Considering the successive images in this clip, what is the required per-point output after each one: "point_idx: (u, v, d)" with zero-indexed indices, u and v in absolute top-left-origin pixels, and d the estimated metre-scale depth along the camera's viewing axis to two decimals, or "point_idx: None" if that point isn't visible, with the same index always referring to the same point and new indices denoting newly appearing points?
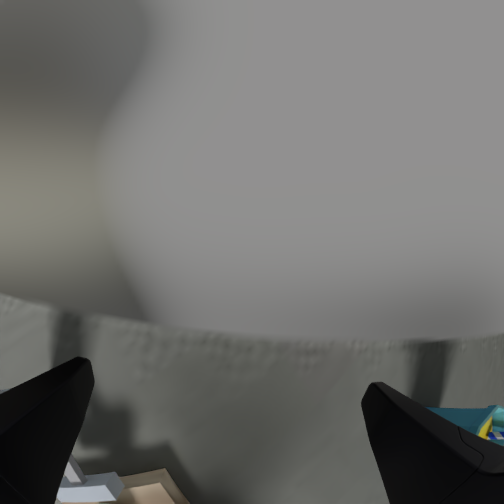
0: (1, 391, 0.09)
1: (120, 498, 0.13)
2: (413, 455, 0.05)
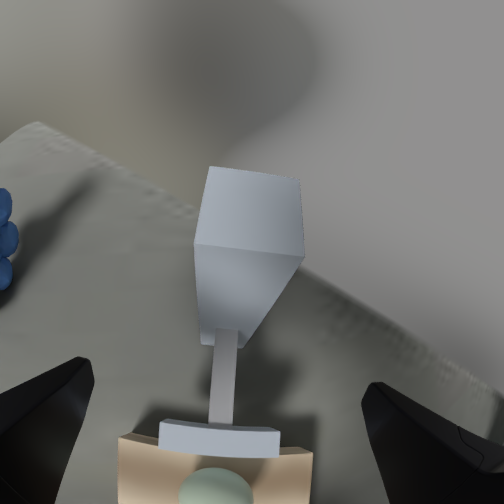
0: None
1: (240, 468, 0.13)
2: (413, 455, 0.05)
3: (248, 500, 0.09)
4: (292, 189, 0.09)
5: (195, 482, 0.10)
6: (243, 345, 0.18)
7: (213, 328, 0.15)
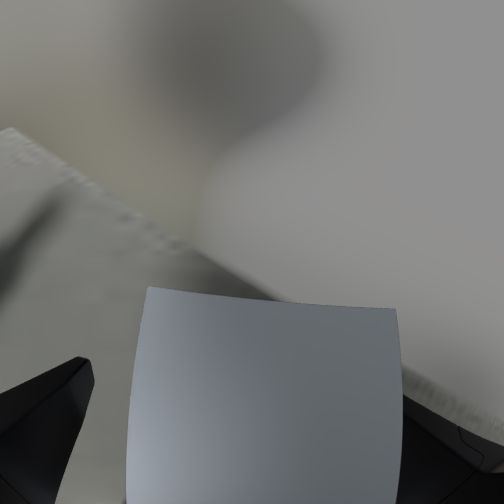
0: None
1: None
2: (413, 455, 0.05)
3: None
4: (383, 350, 0.03)
5: None
6: None
7: None
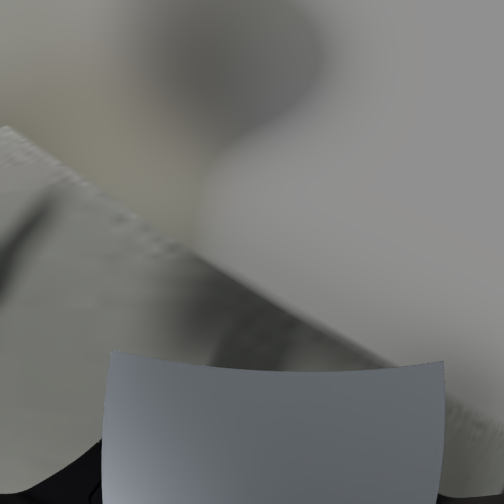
0: None
1: None
2: None
3: None
4: (428, 417, 0.02)
5: None
6: None
7: None
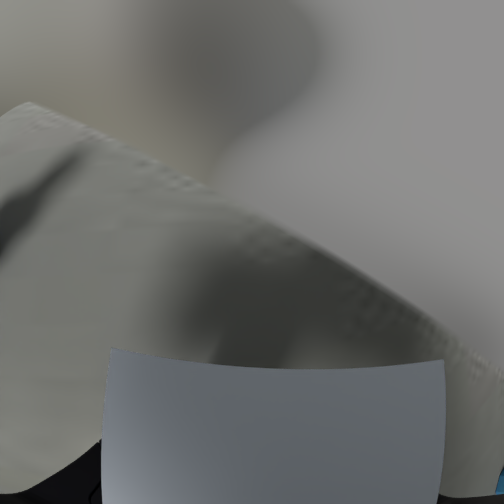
0: None
1: None
2: None
3: None
4: (428, 415, 0.02)
5: None
6: None
7: None
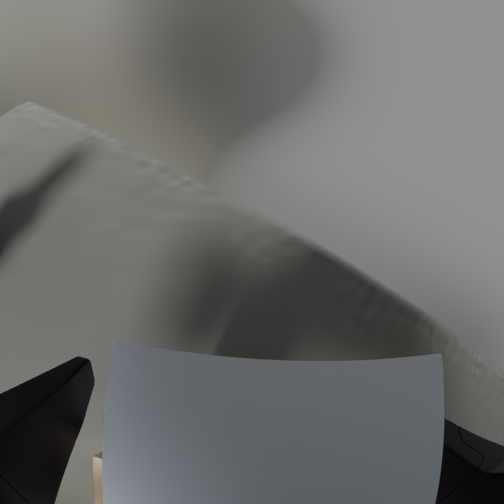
0: None
1: None
2: None
3: None
4: (427, 408, 0.02)
5: None
6: None
7: None
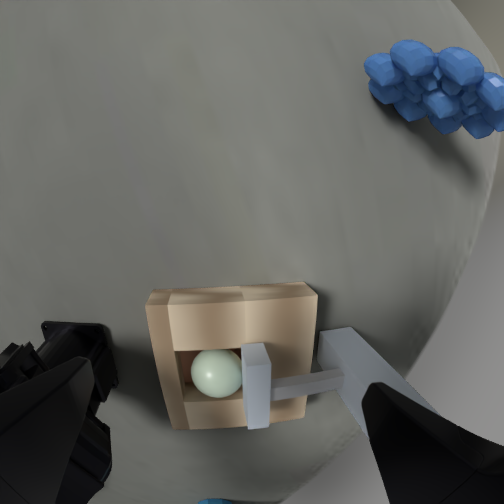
0: None
1: None
2: (413, 455, 0.05)
3: None
4: None
5: None
6: (321, 366, 0.22)
7: (343, 372, 0.18)
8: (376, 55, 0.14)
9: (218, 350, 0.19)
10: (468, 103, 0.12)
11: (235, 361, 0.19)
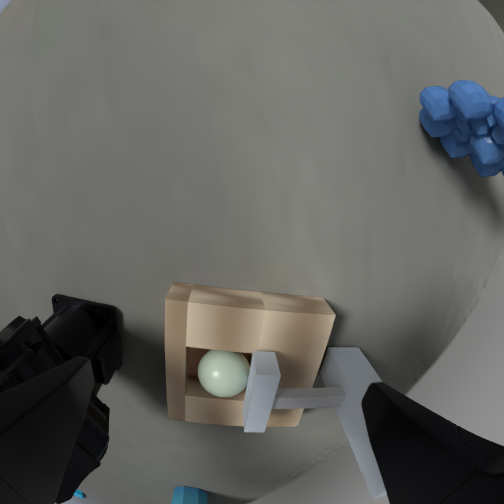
0: None
1: None
2: (413, 455, 0.05)
3: None
4: None
5: None
6: (323, 380, 0.22)
7: (345, 392, 0.18)
8: (434, 88, 0.13)
9: (229, 352, 0.19)
10: None
11: (244, 365, 0.19)
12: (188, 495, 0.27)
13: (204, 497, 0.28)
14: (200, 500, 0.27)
